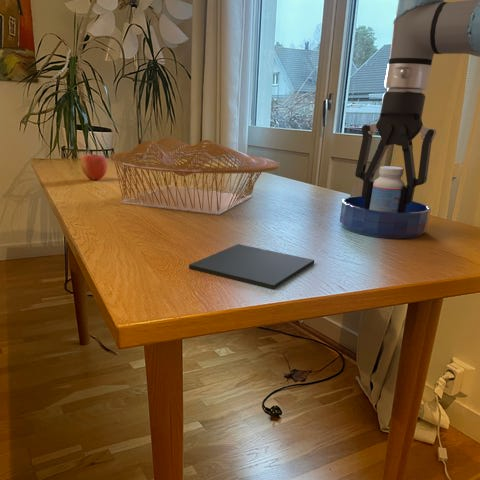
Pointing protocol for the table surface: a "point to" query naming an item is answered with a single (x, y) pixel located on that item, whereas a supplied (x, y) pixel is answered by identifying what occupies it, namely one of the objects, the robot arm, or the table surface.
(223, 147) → the basket
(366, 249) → the table surface
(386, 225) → the bowl
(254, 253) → the mat
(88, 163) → the apple
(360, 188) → the mug
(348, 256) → the table surface
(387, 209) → the pill bottle
